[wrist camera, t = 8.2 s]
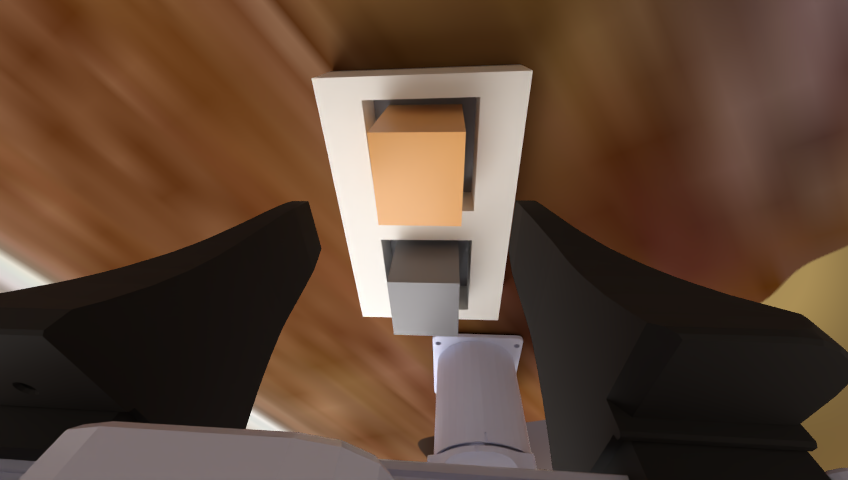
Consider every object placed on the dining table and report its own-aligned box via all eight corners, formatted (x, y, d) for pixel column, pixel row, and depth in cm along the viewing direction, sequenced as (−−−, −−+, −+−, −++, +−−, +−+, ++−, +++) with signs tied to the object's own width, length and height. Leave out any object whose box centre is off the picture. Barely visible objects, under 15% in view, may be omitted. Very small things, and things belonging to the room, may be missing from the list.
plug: (459, 179, 19) (461, 226, 15) (395, 179, 20) (378, 225, 15) (461, 104, 17) (466, 131, 12) (389, 104, 17) (366, 132, 13)
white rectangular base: (493, 291, 25) (503, 356, 20) (371, 288, 26) (352, 350, 21) (520, 64, 16) (551, 80, 11) (331, 71, 17) (282, 88, 12)
